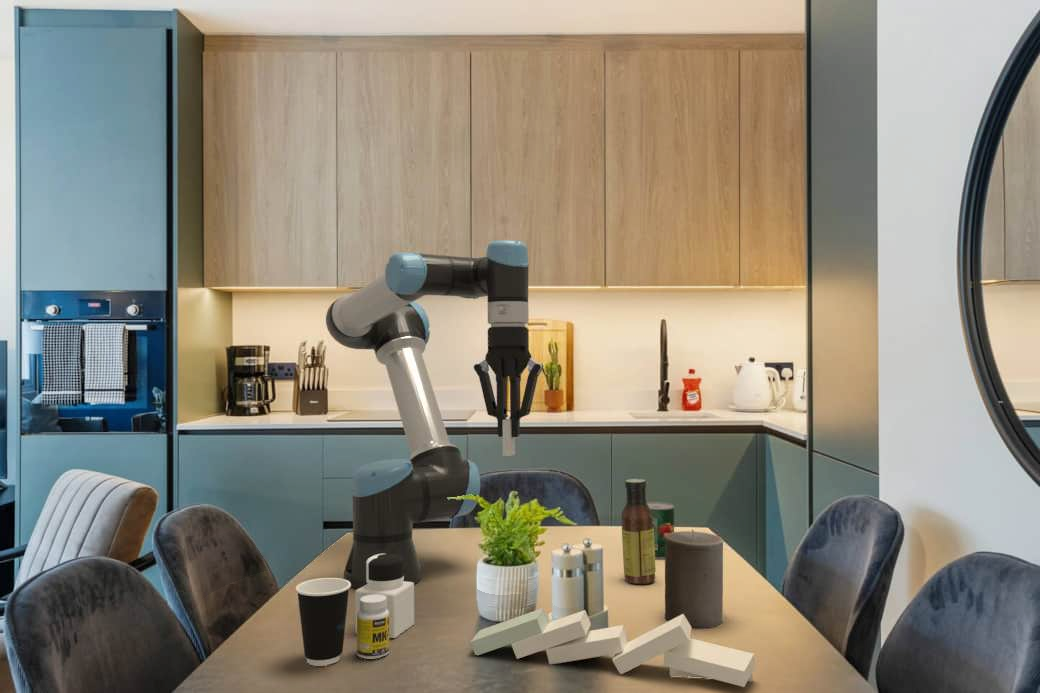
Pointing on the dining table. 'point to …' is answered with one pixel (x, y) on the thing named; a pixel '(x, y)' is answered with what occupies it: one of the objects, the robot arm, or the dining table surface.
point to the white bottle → (389, 590)
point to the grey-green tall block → (510, 631)
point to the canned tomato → (661, 525)
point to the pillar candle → (694, 578)
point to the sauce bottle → (638, 535)
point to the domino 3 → (653, 644)
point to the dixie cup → (323, 618)
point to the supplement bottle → (373, 627)
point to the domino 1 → (554, 634)
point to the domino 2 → (590, 645)
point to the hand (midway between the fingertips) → (508, 454)
